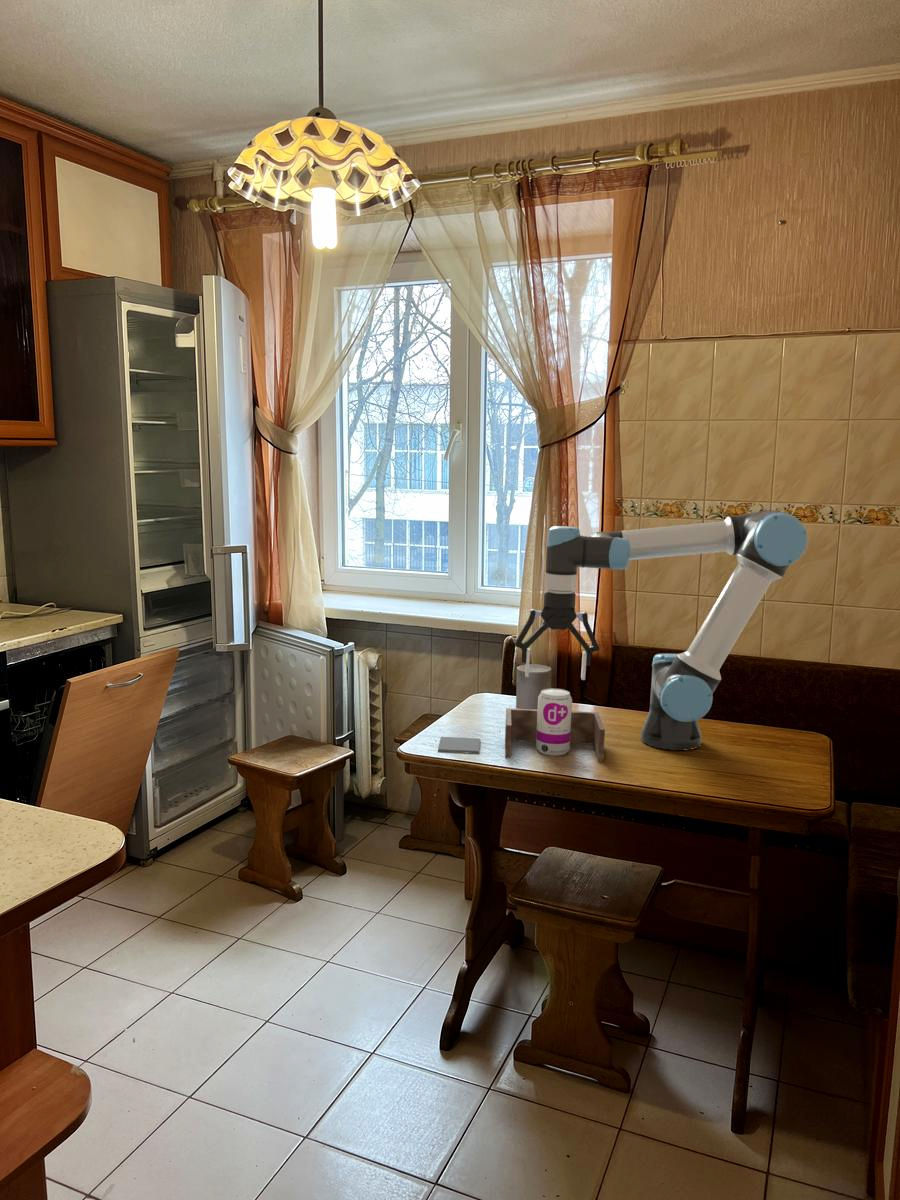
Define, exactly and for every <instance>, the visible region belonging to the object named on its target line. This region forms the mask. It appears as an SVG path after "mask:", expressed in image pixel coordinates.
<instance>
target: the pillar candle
mask: <svg viewBox="0 0 900 1200" xmlns="http://www.w3.org/2000/svg"><path fill="white" fill-rule="evenodd" d="M525 669H526V664H521V665H519V666H517V667H516V690H515V691H516V694H515V695H516V697H515V709H536V710H538V697H539V695H540V693H541V691H542V690H544V689H552V668H551V667H550V666H548V665H543V664H538V663H537V664H536V663H533V664H532V663H531V664H530V663H529V677H525Z"/></svg>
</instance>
